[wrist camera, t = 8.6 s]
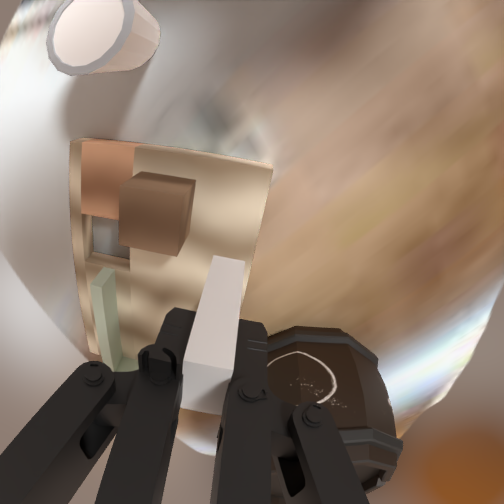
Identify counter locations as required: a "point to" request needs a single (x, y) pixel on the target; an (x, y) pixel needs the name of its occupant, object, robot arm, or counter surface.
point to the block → (155, 212)
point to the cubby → (109, 322)
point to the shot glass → (101, 36)
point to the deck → (150, 263)
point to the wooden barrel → (337, 396)
